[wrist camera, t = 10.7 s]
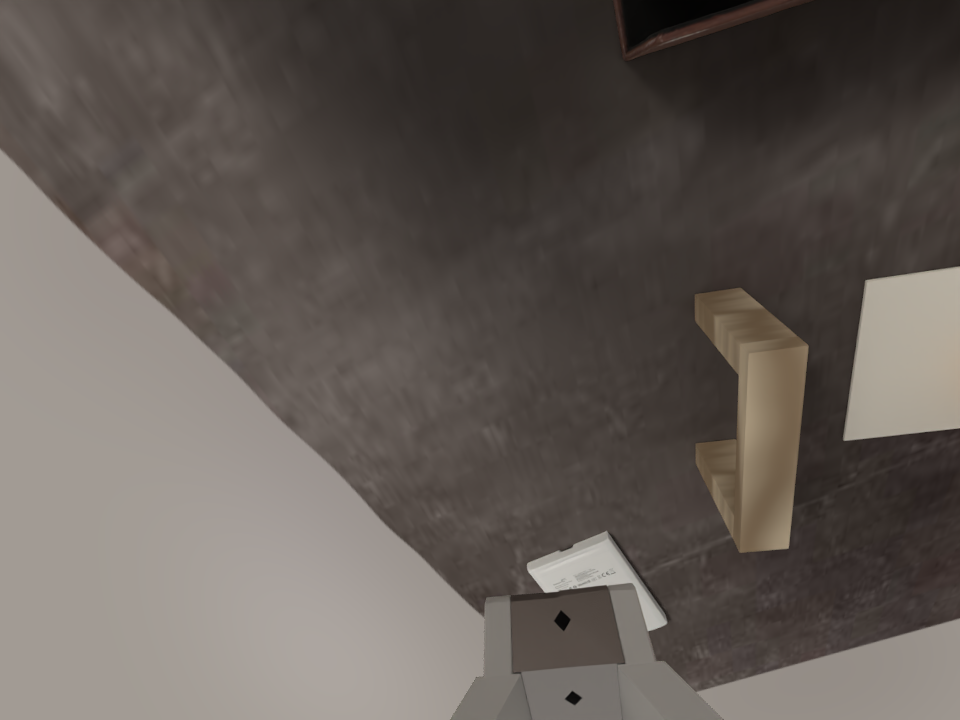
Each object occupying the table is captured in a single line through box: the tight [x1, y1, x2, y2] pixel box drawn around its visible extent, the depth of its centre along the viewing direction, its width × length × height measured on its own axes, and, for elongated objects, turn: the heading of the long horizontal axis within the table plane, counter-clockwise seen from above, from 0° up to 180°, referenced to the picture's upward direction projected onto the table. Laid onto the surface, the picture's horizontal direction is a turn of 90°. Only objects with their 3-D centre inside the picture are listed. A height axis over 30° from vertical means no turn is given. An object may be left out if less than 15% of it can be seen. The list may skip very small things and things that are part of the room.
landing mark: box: [843, 266, 960, 441], centre depth 37 cm, size 13×13×1 cm
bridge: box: [695, 288, 809, 553], centre depth 35 cm, size 3×15×9 cm, turn 10°
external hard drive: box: [527, 531, 667, 631], centre depth 50 cm, size 2×8×12 cm
